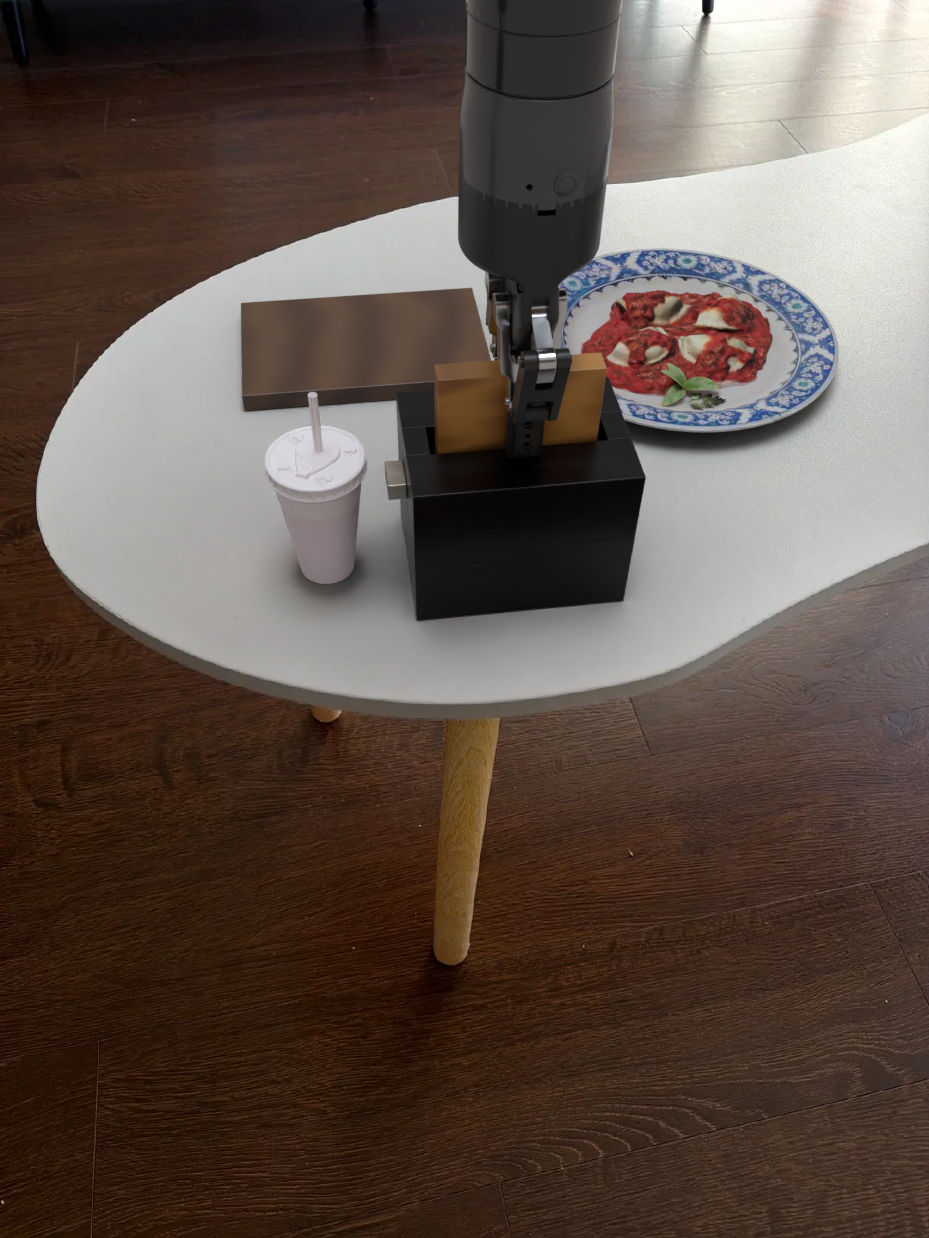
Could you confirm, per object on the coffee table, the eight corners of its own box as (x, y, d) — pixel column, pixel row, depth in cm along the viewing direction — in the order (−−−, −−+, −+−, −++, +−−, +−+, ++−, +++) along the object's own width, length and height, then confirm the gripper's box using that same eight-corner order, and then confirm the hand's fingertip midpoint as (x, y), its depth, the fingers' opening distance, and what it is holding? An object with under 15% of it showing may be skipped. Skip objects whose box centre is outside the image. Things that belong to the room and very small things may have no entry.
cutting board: (244, 411, 86) (241, 396, 85) (243, 317, 95) (240, 302, 94) (494, 392, 88) (495, 377, 87) (471, 302, 97) (472, 287, 96)
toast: (438, 508, 71) (437, 380, 63) (435, 491, 72) (434, 364, 64) (590, 495, 72) (607, 368, 64) (584, 478, 73) (601, 351, 65)
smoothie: (388, 544, 77) (379, 380, 66) (352, 609, 73) (336, 445, 62) (304, 523, 78) (282, 358, 68) (264, 585, 74) (234, 420, 64)
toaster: (398, 622, 72) (392, 499, 64) (384, 518, 79) (377, 393, 70) (623, 600, 74) (646, 477, 65) (591, 500, 80) (608, 376, 72)
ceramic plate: (559, 251, 103) (562, 221, 100) (840, 295, 98) (849, 265, 96) (488, 417, 86) (489, 386, 84) (821, 479, 82) (832, 449, 80)
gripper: (441, 102, 59) (441, 367, 72) (480, 240, 50) (473, 515, 63) (577, 96, 60) (554, 359, 73) (641, 230, 51) (601, 504, 64)
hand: (516, 430), depth 68 cm, fingers open, 3 cm apart
